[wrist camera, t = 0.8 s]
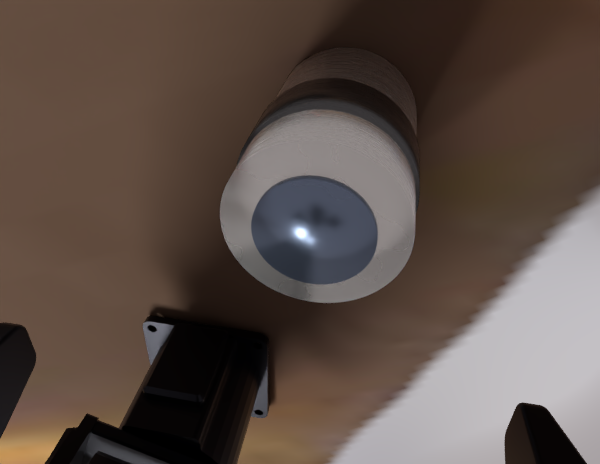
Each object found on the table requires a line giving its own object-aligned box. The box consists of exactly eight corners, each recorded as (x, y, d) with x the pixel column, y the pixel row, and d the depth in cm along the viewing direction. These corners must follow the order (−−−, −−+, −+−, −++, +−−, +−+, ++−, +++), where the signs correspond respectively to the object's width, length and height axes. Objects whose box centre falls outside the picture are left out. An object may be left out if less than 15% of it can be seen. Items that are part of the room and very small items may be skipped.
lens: (407, 188, 20) (401, 324, 15) (274, 171, 21) (218, 296, 15) (432, 51, 17) (438, 155, 11) (275, 37, 18) (205, 129, 12)
